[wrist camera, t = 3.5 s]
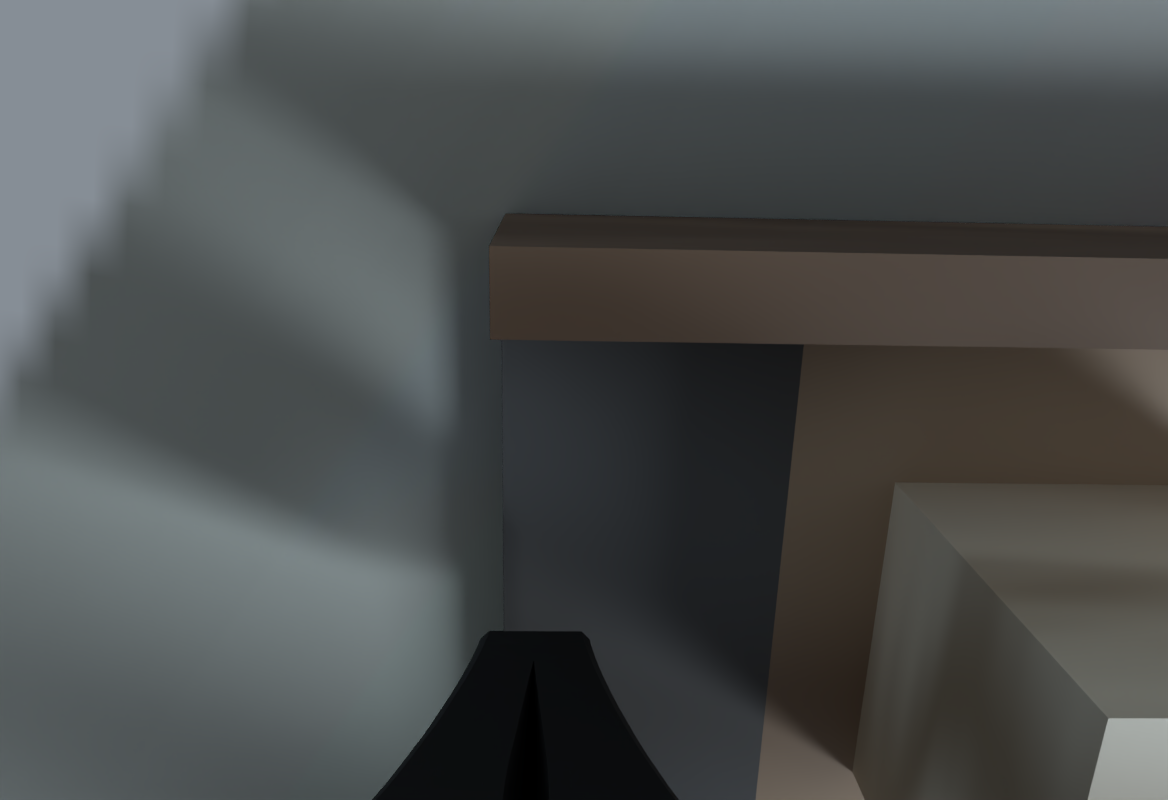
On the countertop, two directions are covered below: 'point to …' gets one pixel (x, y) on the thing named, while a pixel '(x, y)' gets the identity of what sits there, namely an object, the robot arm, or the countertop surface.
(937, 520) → the cream cube
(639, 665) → the wooden tray
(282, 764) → the countertop surface
